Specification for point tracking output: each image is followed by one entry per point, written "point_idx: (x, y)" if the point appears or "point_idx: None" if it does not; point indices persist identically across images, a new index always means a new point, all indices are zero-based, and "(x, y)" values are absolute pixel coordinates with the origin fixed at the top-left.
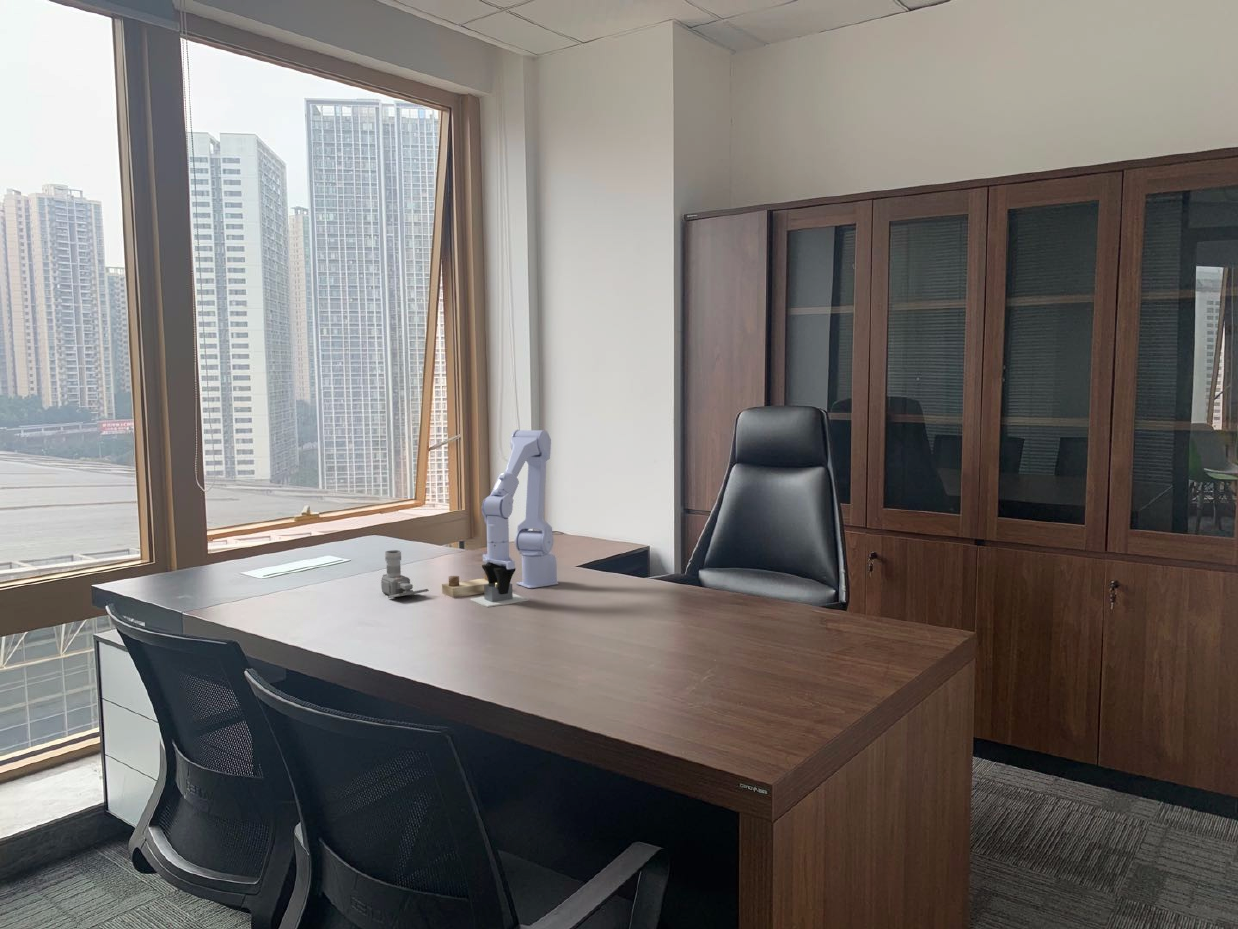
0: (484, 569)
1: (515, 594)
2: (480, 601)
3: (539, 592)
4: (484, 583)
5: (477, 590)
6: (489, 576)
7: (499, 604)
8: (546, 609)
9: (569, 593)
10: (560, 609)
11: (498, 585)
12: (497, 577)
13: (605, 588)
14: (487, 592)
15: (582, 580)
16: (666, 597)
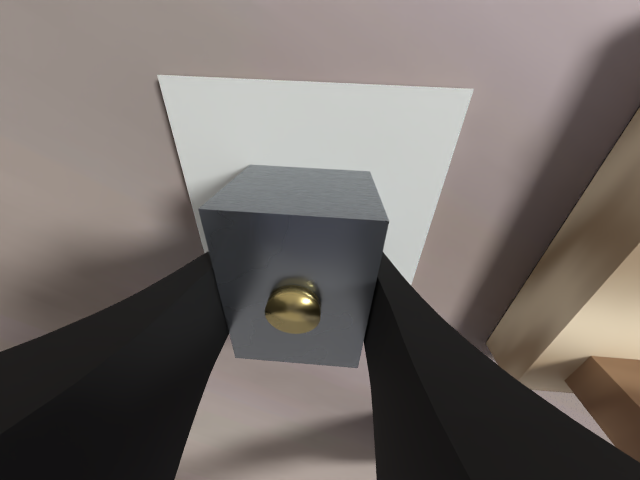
0: (541, 434)
1: None
2: (324, 107)
3: (332, 389)
4: (591, 318)
5: (580, 241)
6: (396, 338)
7: (186, 177)
8: (37, 289)
9: (259, 417)
10: (30, 318)
11: (196, 273)
12: (105, 333)
13: (260, 461)
14: (311, 187)
15: (375, 475)
16: None
